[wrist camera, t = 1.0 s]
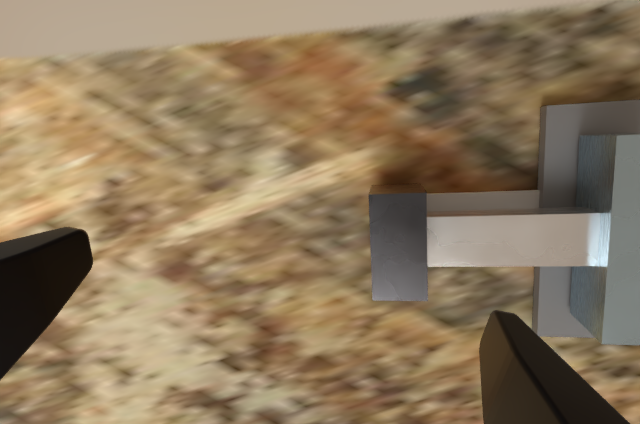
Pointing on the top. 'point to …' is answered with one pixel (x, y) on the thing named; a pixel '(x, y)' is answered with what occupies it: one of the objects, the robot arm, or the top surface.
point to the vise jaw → (527, 239)
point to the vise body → (552, 197)
